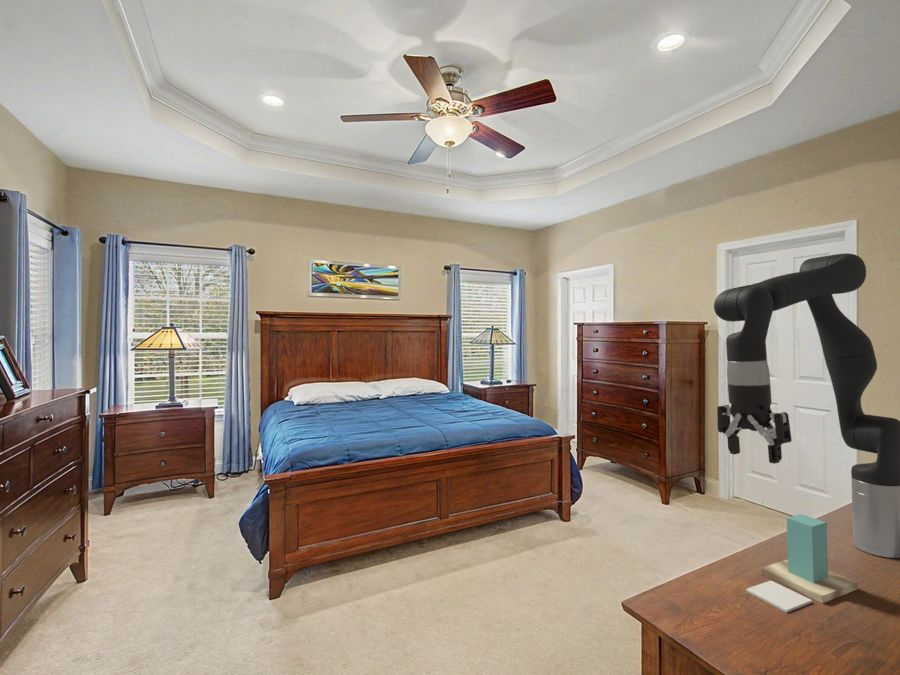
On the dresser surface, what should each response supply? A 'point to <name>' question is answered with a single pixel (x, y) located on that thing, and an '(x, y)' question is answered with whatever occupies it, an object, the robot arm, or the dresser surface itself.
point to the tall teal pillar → (807, 548)
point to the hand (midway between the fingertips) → (753, 458)
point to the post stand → (817, 591)
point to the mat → (779, 596)
